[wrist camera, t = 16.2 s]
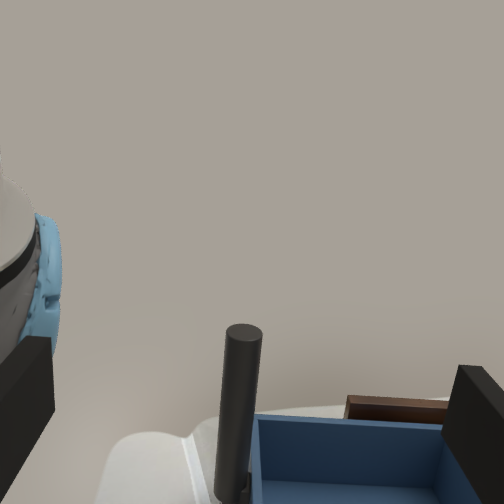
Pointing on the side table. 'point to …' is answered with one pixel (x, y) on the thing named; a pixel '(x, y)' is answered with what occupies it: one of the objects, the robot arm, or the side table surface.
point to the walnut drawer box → (395, 409)
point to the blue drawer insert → (322, 450)
